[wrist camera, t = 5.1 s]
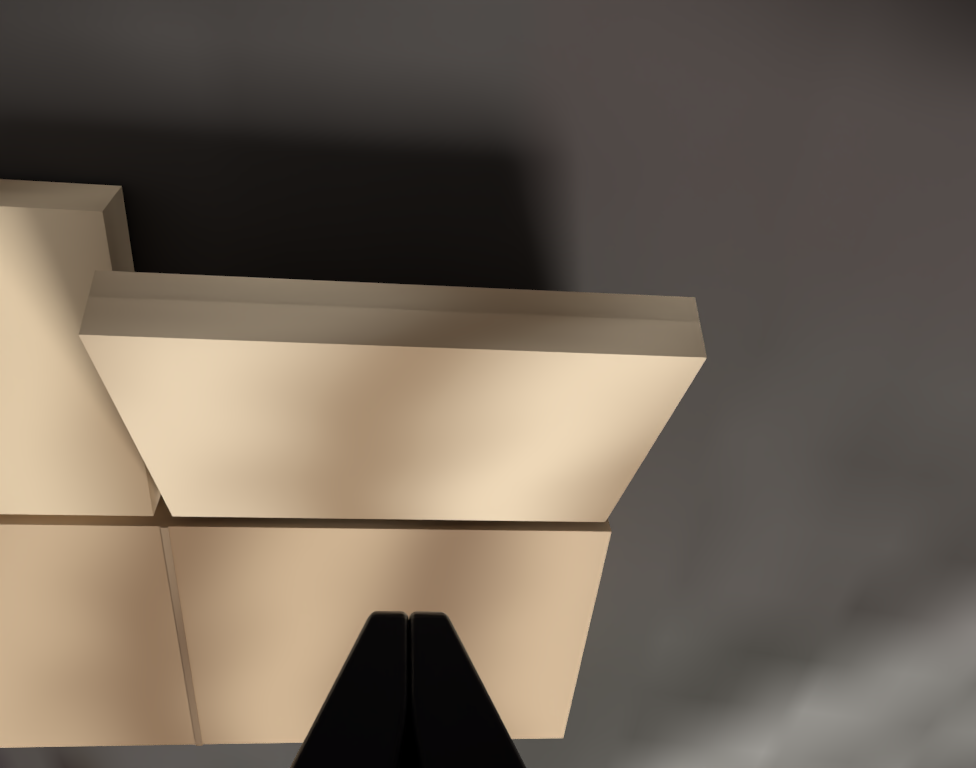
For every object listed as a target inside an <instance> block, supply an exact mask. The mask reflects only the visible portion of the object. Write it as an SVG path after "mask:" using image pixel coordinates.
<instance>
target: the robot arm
mask: <svg viewBox="0 0 976 768" xmlns="http://www.w3.org/2000/svg"><path fill="white" fill-rule="evenodd" d="M290 768H526V766H525V764H524V762H523V760H522V759H521V757H520V755H519V753H518V751H517V749H516V747H515V745H514V743H513V741H512V739H511V737H510V735H509V733H508V731H507V729H506V727H505V725H504V723H503V721H502V719H501V717H500V716H499V714H498V712H497V710H496V708H495V706H494V704H493V702H492V700H491V698H490V696H489V694H488V692H487V690H486V688H485V686H484V684H483V682H482V680H481V678H480V676H479V675H478V673H477V671H476V669H475V667H474V665H473V663H472V661H471V659H470V657H469V655H468V653H467V651H466V649H465V647H464V645H463V643H462V641H461V639H460V637H459V635H458V633H457V632H456V630H455V628H454V626H453V624H452V622H451V620H450V618H449V617H448V615H447V614H446V613H444V612H434V611H415V612H413V613H411V614H410V616H409V620H408V615H407V614H406V613H405V612H403V611H374V612H372V613H371V614H370V615H369V617H368V618H367V620H366V622H365V624H364V626H363V628H362V630H361V632H360V633H359V635H358V637H357V639H356V641H355V643H354V645H353V647H352V649H351V651H350V653H349V655H348V657H347V659H346V661H345V662H344V664H343V666H342V668H341V670H340V672H339V674H338V676H337V678H336V680H335V682H334V684H333V686H332V688H331V690H330V691H329V693H328V695H327V697H326V699H325V701H324V703H323V705H322V707H321V709H320V711H319V713H318V715H317V717H316V719H315V720H314V722H313V724H312V726H311V728H310V730H309V732H308V734H307V736H306V738H305V740H304V742H303V744H302V746H301V747H300V749H299V751H298V753H297V755H296V757H295V759H294V761H293V763H292V765H291V767H290Z"/></svg>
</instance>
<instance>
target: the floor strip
mask: <svg viewBox="0 0 976 768" xmlns="http://www.w3.org/2000/svg"><path fill="white" fill-rule="evenodd" d="M610 535H611V529H610V525H609V522H608V518H607V520H606V521H605V522H562V521H486V520H410V519H334V518H258V517H181V516H172V514H171V513H170V511H169V509H168V507H167V505H166V503H165V501H164V499H163V497H162V495H161V496H160V499H159V502H158V504H157V507H156V510H155V513H154V516H105V515H29V514H0V748H7V747H66V746H125V745H184V744H196V746H202V744H243V743H303V742H304V740H305V738H306V736H307V734H308V732H309V730H310V728H311V726H312V724H313V722H314V720H315V719H316V717H317V715H318V713H319V711H320V709H321V707H322V705H323V703H324V701H325V699H326V697H327V695H328V693H329V691H330V690H331V688H332V686H333V684H334V682H335V680H336V678H337V676H338V674H339V672H340V670H341V668H342V666H343V664H344V662H345V661H346V659H347V657H348V655H349V653H350V651H351V649H352V647H353V645H354V643H355V641H356V639H357V637H358V635H359V633H360V632H361V630H362V628H363V626H364V624H365V622H366V620H367V618H368V617H369V615H370V614H371V613H372V612H374V611H403V612H405V613H406V614H407V615H408V620H409V616H410V614H411V613H413V612H415V611H434V612H444V613H446V614H447V615H448V617H449V618H450V620H451V622H452V624H453V626H454V628H455V630H456V632H457V633H458V635H459V637H460V639H461V641H462V643H463V645H464V647H465V649H466V651H467V653H468V655H469V657H470V659H471V661H472V663H473V665H474V667H475V669H476V671H477V673H478V675H479V676H480V678H481V680H482V682H483V684H484V686H485V688H486V690H487V692H488V694H489V696H490V698H491V700H492V702H493V704H494V706H495V708H496V710H497V712H498V714H499V716H500V717H501V719H502V721H503V723H504V725H505V727H506V729H507V731H508V733H509V735H510V737H511V739H539V738H563V736H564V732H565V728H566V723H567V719H568V715H569V711H570V706H571V702H572V698H573V694H574V689H575V685H576V681H577V676H578V672H579V668H580V664H581V659H582V655H583V651H584V647H585V642H586V638H587V634H588V629H589V625H590V621H591V617H592V612H593V608H594V604H595V599H596V595H597V591H598V587H599V582H600V578H601V574H602V570H603V565H604V561H605V557H606V552H607V548H608V544H609V540H610Z"/></svg>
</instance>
